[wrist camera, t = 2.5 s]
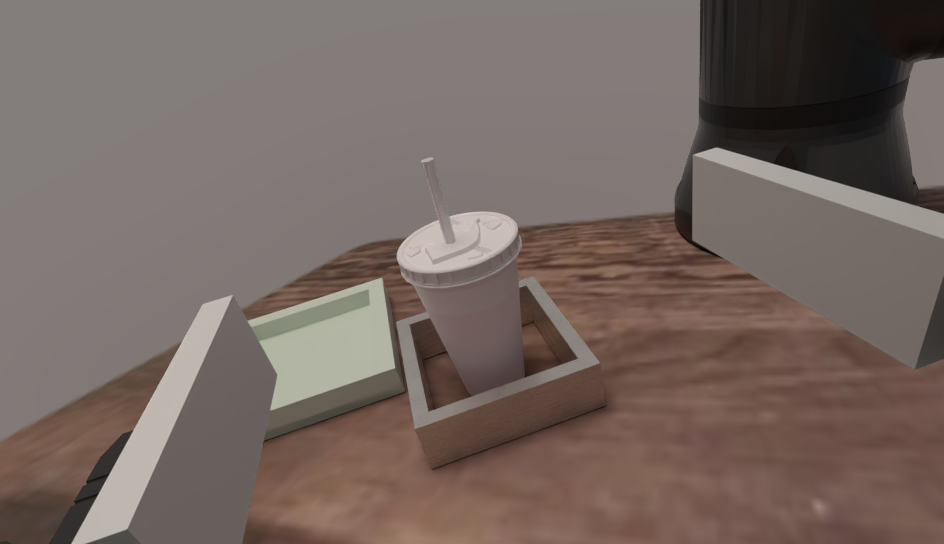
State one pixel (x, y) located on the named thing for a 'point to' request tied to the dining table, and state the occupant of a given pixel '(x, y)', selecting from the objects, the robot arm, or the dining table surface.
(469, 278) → the smoothie
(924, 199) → the dining table surface
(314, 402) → the tray
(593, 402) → the square frame
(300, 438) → the dining table surface
